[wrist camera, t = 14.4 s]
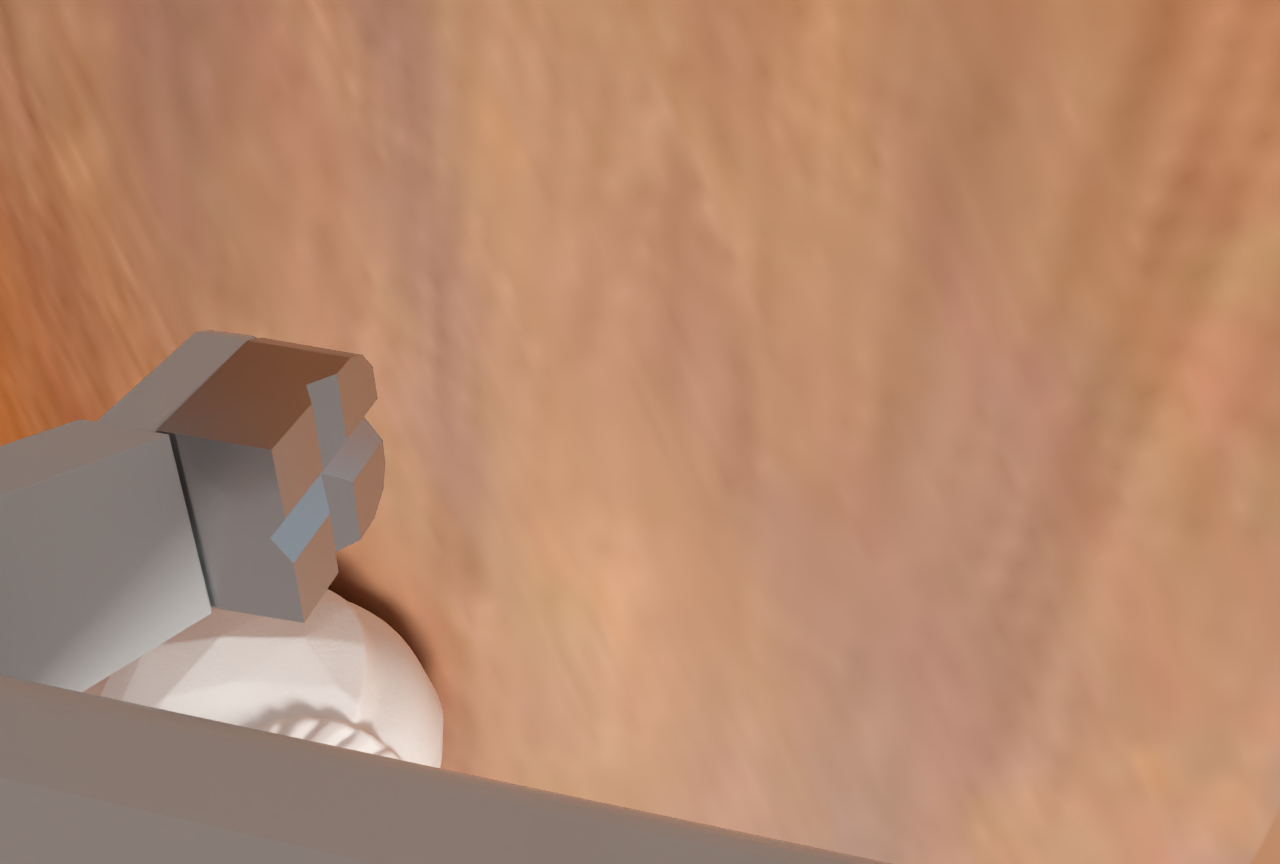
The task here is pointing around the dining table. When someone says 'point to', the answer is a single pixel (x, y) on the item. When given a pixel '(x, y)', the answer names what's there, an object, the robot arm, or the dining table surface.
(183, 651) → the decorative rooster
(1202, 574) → the dining table surface
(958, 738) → the dining table surface
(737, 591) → the dining table surface
